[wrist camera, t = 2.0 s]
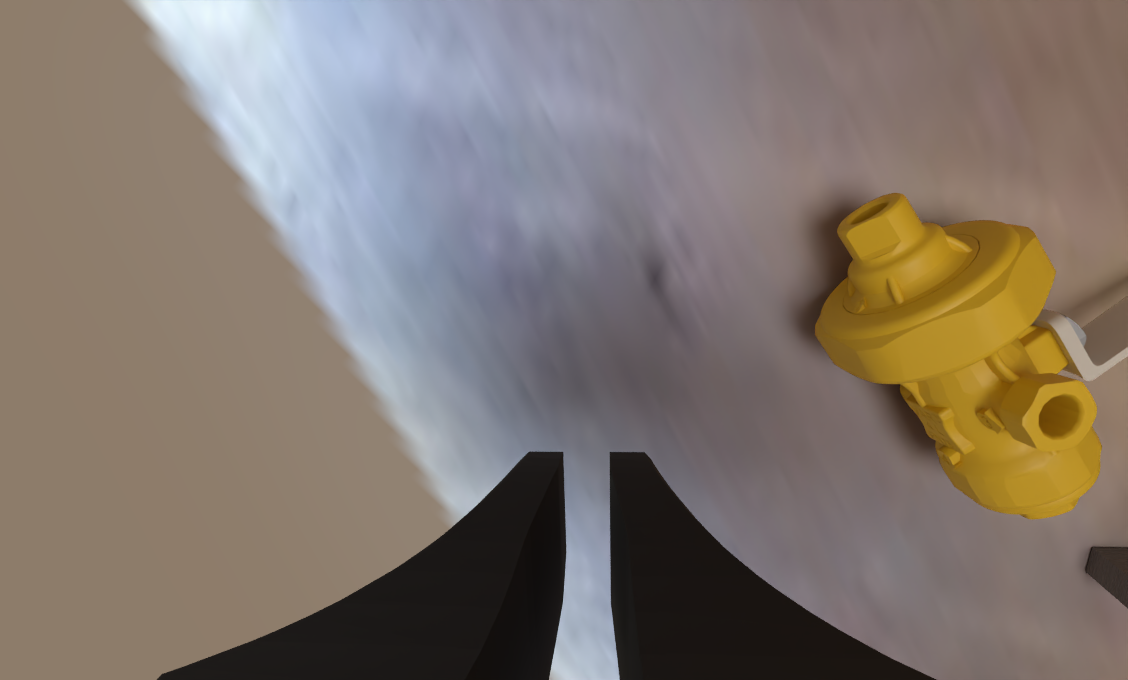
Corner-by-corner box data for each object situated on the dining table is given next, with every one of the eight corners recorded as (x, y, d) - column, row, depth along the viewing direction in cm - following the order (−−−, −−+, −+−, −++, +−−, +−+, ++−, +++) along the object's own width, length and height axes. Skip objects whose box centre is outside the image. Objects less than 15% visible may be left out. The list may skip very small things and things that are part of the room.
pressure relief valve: (909, 502, 20) (748, 264, 18) (1216, 288, 19) (1081, 15, 17) (1050, 604, 15) (842, 281, 13) (1483, 312, 14) (1331, -78, 12)
